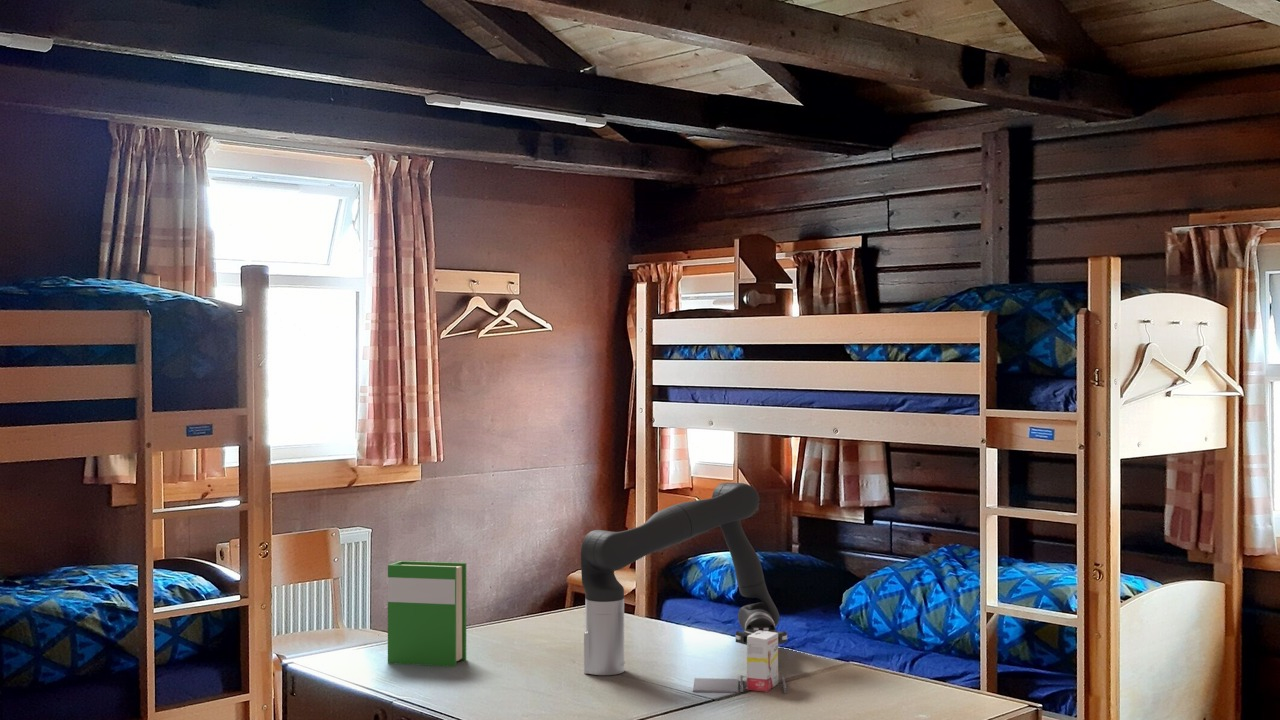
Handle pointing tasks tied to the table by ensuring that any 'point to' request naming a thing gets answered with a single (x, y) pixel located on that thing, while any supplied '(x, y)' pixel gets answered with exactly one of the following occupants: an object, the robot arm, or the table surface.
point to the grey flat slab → (721, 685)
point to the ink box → (762, 660)
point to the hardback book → (426, 613)
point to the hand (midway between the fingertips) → (762, 644)
